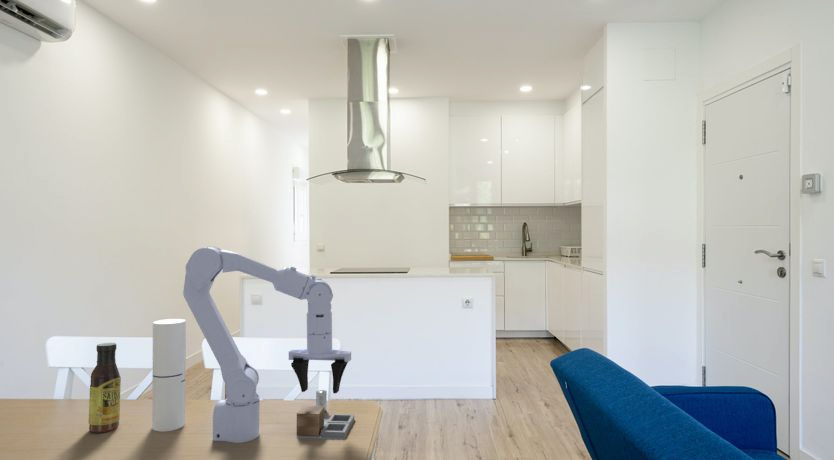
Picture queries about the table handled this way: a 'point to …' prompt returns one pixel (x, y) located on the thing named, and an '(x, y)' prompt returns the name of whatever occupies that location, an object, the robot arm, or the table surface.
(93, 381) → the sauce bottle
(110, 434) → the table surface
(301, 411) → the wooden toy block
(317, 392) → the pin
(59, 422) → the table surface
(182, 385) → the cylindrical container
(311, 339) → the robot arm
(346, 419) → the board
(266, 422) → the table surface
